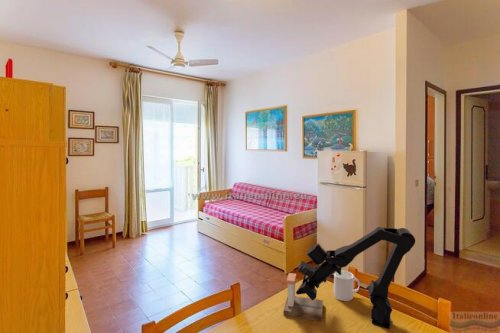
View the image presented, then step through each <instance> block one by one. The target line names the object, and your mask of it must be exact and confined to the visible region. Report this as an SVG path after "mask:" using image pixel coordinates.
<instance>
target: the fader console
mask: <svg viewBox="0 0 500 333" xmlns="http://www.w3.org/2000/svg"><path fill="white" fill-rule="evenodd" d="M323 304H324V301H323V300H322V299H317V298H315V299H314V300H311V299H310V298H309V297H302V296H296V295H295V301H294V306H293V307H291V306H288V295H287V297H286V300H285V304H284V307H283V316H288V317H293V318H300V319H306V320H309V321H311V320H312V321H316V322H318V321H319V322H322V321H323Z"/></svg>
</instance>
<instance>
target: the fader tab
mask: <svg viewBox="0 0 500 333" xmlns="http://www.w3.org/2000/svg"><path fill="white" fill-rule="evenodd" d="M296 280H297V273H292V272H289V273H288V274H287V278H286V285H287V296H288V306H291V307H293V306H294V301H295V296H296Z"/></svg>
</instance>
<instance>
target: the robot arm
mask: <svg viewBox="0 0 500 333" xmlns="http://www.w3.org/2000/svg"><path fill="white" fill-rule="evenodd" d="M381 241H386V242H389V243H392V248H391V251H390V252H389V255H388V256H387V259H386V261H385V263H384V266H383V267H382V268H381V269H382V270H381V272H380V274H379V276H378V278H377V279H376V280H375V281H374V280H373V279H370V283H369V285H368V286H367V290H368V291H367V292H368V296H369V300H370V302H371V304H372V307H371V310H370V311H371V312H370V313H371V314H370V319H371V324H372V325H376V326H379V327H382V328H386V329H391V324H392V318H391V317H392V312H393V308H392V307H393V306H392V305H391V301H390V300H389V297H388V296H389V288H390V285H391V283H392V281H393V279H394V277H395V274H396V272H397V270H398V268H399V266H400V265H401V262H402V260H403V258H404V256H405V255H406V254H407V253H409V252H410V251H411V249H412V248H413V247H414V245H415V244H416V238H415V236H414V235H413V234H412V233H411V231H410V230H409V229H407V228H404V227H400V228H393V227H382V226H378V227H376V228H374V230H372V231H370V232H369V233H368V234H365V235H364V236H362V237H361V238H359V239H357V240H356V241H354V242H353V243H351V244H348V245H343V246H341V247H338V248H336V249H334V250H331V249H330V250H325V249H324V248H323V247H322V245H321V244H320V243H317V244H315V245H312V246H311V247H309V249H308V250H307V251H306V253H305V254H306V256H308V258H309V259H311V261H312V262H313V263H314V264H315V265H314V267H313V266H312V265H311V264H309V263H307V262H306V261H303V260H302V261H301V262H300V264H299V265H298V269H297V272H298V273H300V274H302V275H303V279H302V282H301V284H300V286H299V287H298V288H297V290H295V295H304V294H305V295H307V297H308V298H310V299H311V300H314V299H317V295H318V290H317V289H319V288H320V285H321V284H323V283H327V280H328V279H329V278H330V277H331V276H333V275H334V273H335V272H337V273H338V274H339V275H341V270H343V269H342V268H346V267H347V266H348V265H350V263H352V262H353V260H354V259H355V258H356V257H357V256H358V255H360V254H361V253H363V252H364V251H366V250H368V249H370V248H371V247H373V246H374V245H376V244H377V243H379V242H381Z"/></svg>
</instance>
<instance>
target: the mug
mask: <svg viewBox="0 0 500 333" xmlns="http://www.w3.org/2000/svg"><path fill="white" fill-rule="evenodd" d="M355 282H357V284H358V287H357V288H355V289H354V287H355V286H354V283H355ZM360 284H361V283H360V280H359V279H358V278H357V277H355V275H354V274H353V273H352V272H351V271H347V270H343V269H341V275H339V274H338V273H337V272H335V273H334V274H333V295H334V297H335V299H336V300H339V301H342V302H349V301H353V298H354V294H356V293H357V292H358V291H359V289H360V286H361V285H360Z"/></svg>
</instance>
